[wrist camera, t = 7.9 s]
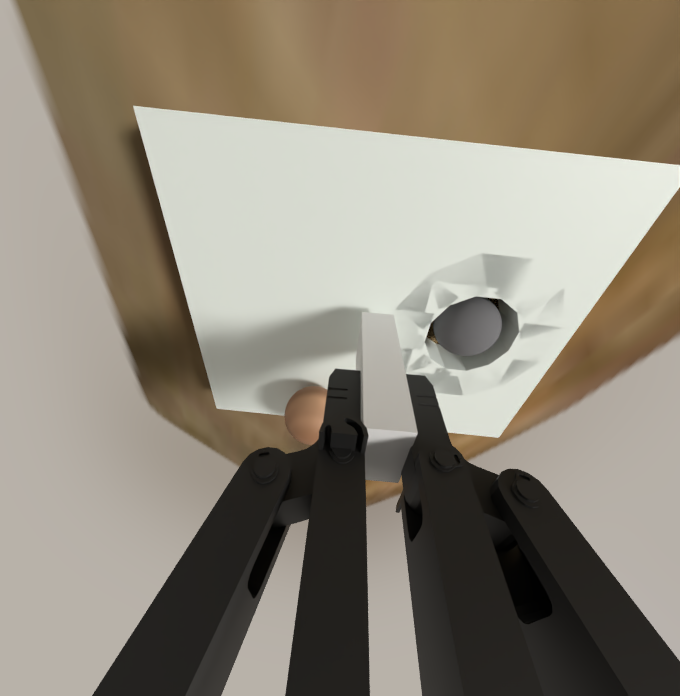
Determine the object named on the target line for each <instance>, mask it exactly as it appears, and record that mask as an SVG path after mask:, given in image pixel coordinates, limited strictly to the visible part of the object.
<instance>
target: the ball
mask: <svg viewBox="0 0 680 696" xmlns="http://www.w3.org/2000/svg"><path fill="white" fill-rule="evenodd" d="M501 328H502V320H501V315H500V313H499V311H498V309H497V307H496V306H495V305H494V304H493V303H492V302H491V301H490V300H488V299H487V298H485V297H477V296H476V297H473V298H470V299H467V300H464V301H461V302H458V303H455V304H453V305H450V306H449V307H448V308H446V309H445V310H444V311H443V312H442V313H441V314H440V315H439V316H438V317H437V318H436V319H435V320H434V321H433V330H434V335H435V337H436V339H437V341H438V343H439V344H440V345H441V346H442V347H443V348H444V349H445V350H447V351H449V352H450V353H453V354H456V355H460V356H473V355H477V354H480V353H482V352H484V351H486V350H488V349H489V348H490V347H491V346H492V345H493V344H494V343H495V342H496V340H497V339H498V337H499V335H500V332H501Z"/></svg>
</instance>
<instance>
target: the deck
mask: <svg viewBox="0 0 680 696" xmlns="http://www.w3.org/2000/svg"><path fill="white" fill-rule="evenodd" d="M133 107H134V111H135V114H136V118H137V122H138V125H139V129H140V132H141V136H142V140H143V143H144V147H145V151H146V154H147V158H148V161H149V165H150V169H151V172H152V176H153V180H154V183H155V187H156V190H157V194H158V198H159V201H160V205H161V209H162V212H163V216H164V219H165V223H166V227H167V230H168V234H169V238H170V241H171V245H172V248H173V252H174V256H175V259H176V263H177V267H178V270H179V274H180V277H181V281H182V285H183V288H184V292H185V296H186V299H187V303H188V306H189V310H190V314H191V317H192V321H193V324H194V328H195V332H196V335H197V339H198V343H199V346H200V350H201V353H202V357H203V361H204V364H205V368H206V372H207V375H208V379H209V382H210V386H211V390H212V393H213V397H214V401H215V404H216V408H217V409H226V410H236V411H246V412H255V413H265V414H275V415H284V416H285V409H286V405H287V403H288V401H289V399H290V398H291V397H292V396H293V395H294V394H295V393H296V392H297V391H298V390H300V389H302V388H305V387H309V386H319V387H323V388H325V389H328V381H329V376H330V375H331V374H332V372H333V371H334V370H335V368H336V369H347V370H356V354H357V346H358V338H359V331H360V323H361V316H362V312H368V313H379V314H391V315H394V318H395V323H396V328H397V333H398V338H399V343H400V348H401V353H402V358H403V363H404V368H405V372H406V374H412V375H423V376H426V378H427V379H428V380H429V381H430V382H431V384H432V385H433V387H434V390H435V394H436V398H437V400H438V403H439V407H440V410H441V413H442V416H443V420H444V423H445V426H446V429H447V432H449V433H459V434H469V435H478V436H488V437H498V438H499V436H500V435H501V434H502V432H503V431H504V430H505V428H506V427H507V425H508V424H509V423H510V421H511V420H512V418H513V417H514V416H515V414H516V413H517V412H518V410H519V409H520V407H521V406H522V405H523V403H524V402H525V400H526V399H527V398H528V396H529V395H530V394H531V392H532V391H533V389H534V388H535V387H536V385H537V384H538V382H539V381H540V380H541V378H542V377H543V375H544V374H545V373H546V371H547V370H548V369H549V367H550V366H551V364H552V363H553V362H554V360H555V359H556V357H557V356H558V355H559V353H560V352H561V351H562V349H563V348H564V346H565V345H566V344H567V342H568V341H569V339H570V338H571V337H572V335H573V334H574V333H575V331H576V330H577V328H578V327H579V326H580V324H581V323H582V321H583V320H584V319H585V317H586V316H587V315H588V313H589V312H590V310H591V309H592V308H593V306H594V305H595V303H596V302H597V301H598V299H599V298H600V297H601V295H602V294H603V292H604V291H605V290H606V288H607V287H608V285H609V284H610V283H611V281H612V280H613V279H614V277H615V276H616V274H617V273H618V272H619V270H620V269H621V267H622V266H623V265H624V263H625V262H626V260H627V259H628V258H629V256H630V255H631V254H632V252H633V251H634V249H635V248H636V247H637V245H638V244H639V242H640V241H641V240H642V238H643V237H644V236H645V234H646V233H647V231H648V230H649V229H650V227H651V226H652V224H653V223H654V222H655V220H656V219H657V218H658V216H659V215H660V213H661V212H662V211H663V209H664V208H665V206H666V205H667V204H668V202H669V201H670V200H671V198H672V197H673V195H674V194H675V193H676V191H677V190H678V188H679V187H680V165H672V164H663V163H654V162H644V161H635V160H626V159H617V158H608V157H598V156H589V155H580V154H571V153H562V152H552V151H543V150H534V149H525V148H516V147H506V146H497V145H488V144H479V143H470V142H461V141H451V140H442V139H433V138H424V137H415V136H405V135H396V134H387V133H378V132H369V131H359V130H350V129H341V128H332V127H323V126H313V125H304V124H295V123H286V122H277V121H267V120H258V119H249V118H240V117H231V116H221V115H212V114H203V113H194V112H185V111H175V110H166V109H157V108H148V107H139V106H133ZM476 296H477V297H487V298H496V299H498V303H499V313H500V315H501V320H502V328H501V332H500V335H499V337H498V339H497V340H496V342H495V343H494V344H493V345H492V346H491V347H490V348H489V349H488V350H486V351H484V352H482V353H480V354H477V355H473V356H460V355H456V354H453V353H450V352H449V351H447V350H445V349H444V348H443V347H442V346H441V345H440V344H436V343H434V342H433V341H431V340H430V339H428V338H427V337H426V336H427V333H428V330H429V327H430V324H431V322H432V321H433V320H435V319H436V318H437V317H438V316H439V315H440V314H441V313H442V312H443V311H444V310H445V309H446V308H448V307H449V306H450V305H453V304H455V303H458V302H461V301H464V300H467V299H470V298H473V297H476Z"/></svg>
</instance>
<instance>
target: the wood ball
mask: <svg viewBox="0 0 680 696" xmlns="http://www.w3.org/2000/svg"><path fill="white" fill-rule="evenodd" d="M326 396H327V389H325V388H323V387H319V386H309V387H305V388H302V389H300V390H298V391H297V392H296V393H295V394H294V395H293V396H292V397H291V398H290V399H289V401H288V403H287V405H286V409H285V423H286V427H287V429H288V431H289V432H290V434H291V435H292V436H293V437H294V438H295V439H296V440H298V441H300V442H302V443H305V444H310V445H313V444H314V443H315V442H316V441H317V440H318V439H319V430H320V427H321V425H322V423H323V419H324V411H325V404H326Z"/></svg>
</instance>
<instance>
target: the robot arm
mask: <svg viewBox="0 0 680 696" xmlns="http://www.w3.org/2000/svg"><path fill="white" fill-rule="evenodd" d="M401 475H402V482H403V491H402V493H401V496H400V498H399V500H398V503H397V506H396V512H398V513H399V512H400V510H402V519H403V529H404V537H405V546H406V555H407V563H408V573H409V582H410V591H411V600H412V609H413V617H414V625H415V635H416V644H417V653H418V662H419V670H420V680H421V688H422V696H680V661H679V660H678V659H677V657H676V656H675V655H674V653H673V652H672V651H671V649H670V648H669V647H668V646H667V644H666V643H665V642H664V641H663V639H662V638H661V636H660V635H659V634H658V633H657V631H656V630H655V629H654V627H653V626H652V625H651V624H650V622H649V621H648V620H647V619H646V617H645V616H644V615H643V613H642V612H641V611H640V609H639V608H638V607H637V605H636V604H635V603H634V601H633V600H632V599H631V598H630V596H629V595H628V594H627V592H626V591H625V590H624V589H623V587H622V586H621V585H620V583H619V582H618V581H617V579H616V578H615V577H614V576H613V574H612V573H611V572H610V570H609V569H608V568H607V567H606V566H605V564H604V563H603V561H602V560H601V559H600V557H599V556H598V555H597V553H595V551H594V549H593V548H592V547H591V546H590V544H589V543H588V542H587V541H586V539H585V538H584V537H583V535H582V534H581V533H580V531H579V530H578V529H577V527H576V526H575V525H574V524H573V522H572V521H571V520H570V518H569V517H568V516H567V514H566V513H565V512H564V511H563V509H562V508H561V507H560V506H559V504H558V503H557V501H556V500H555V499H554V498H553V497H552V495H551V494H550V492H549V491H548V490H547V489H546V488H545V487H544V486H543V484H541V482H540V481H539V480H537V479H536V478H534V477H533V476H532V475H530V474H528V473H526V472H524V471H521V470H518V469H507V470H505V471H502V472H501V474H500V475H497V474H495V473H492V472H490V471H487V470H484V469H482V468H479V467H477V466H475V465H473V464H471V463H469V462H467V461H466V460H465V459H464V458H463V456H462V454H461V453H460V452H459V451H458V450H457V449H456V448H455V447H453V446H452V444H451V442H450V439H449V436H448V433H447V429H446V426H445V423H444V420H443V416H442V413H441V410H440V407H439V403H438V400H437V398H436V394H435V390H434V387H433V385H432V384H431V382H430V381H429V380H428V379H427V378H426V376H423V375H412V374H406V372H405V368H404V363H403V358H402V353H401V348H400V343H399V338H398V333H397V328H396V323H395V318H394V315H391V314H379V313H368V312H362V316H361V323H360V331H359V338H358V346H357V354H356V370H347V369H336V368H335V370H334V371H333V372H332V374H331V375H330V376H329V381H328V389H327V396H326V404H325V411H324V419H323V423H322V425H321V427H320V430H319V439H318V440H317V441H316V442H315V443H314V444H313V445H312V446H310V447H309V448H307V449H304V450H301V451H298V452H293V453H289V454H285V453H284V452H282V451H281V450H279V449H277V448H270V447H267V448H262V449H258V450H256V451H255V452H253V453H251V454H250V455H249V456H248V457H247V458H246V459H245V460H244V461H243V462H242V464H241V466H240V467H239V469H238V470H237V472H236V473H235V475H234V476H233V478H232V480H231V481H230V483H229V484H228V486H227V487H226V489H225V490H224V492H223V494H222V495H221V497H220V498H219V500H218V501H217V503H216V504H215V506H214V507H213V509H212V511H211V512H210V514H209V515H208V517H207V519H206V520H205V521H204V523H203V525H202V526H201V528H200V529H199V531H198V532H197V534H196V535H195V537H194V539H193V540H192V542H191V543H190V545H189V546H188V548H187V549H186V551H185V552H184V554H183V556H182V557H181V559H180V560H179V562H178V563H177V565H176V566H175V568H174V570H173V571H172V573H171V574H170V576H169V577H168V579H167V580H166V582H165V583H164V585H163V587H162V588H161V590H160V591H159V593H158V594H157V596H156V597H155V599H154V601H153V602H152V604H151V605H150V607H149V608H148V610H147V611H146V613H145V615H144V616H143V618H142V619H141V621H140V622H139V624H138V625H137V627H136V628H135V630H134V632H133V633H132V635H131V636H130V638H129V639H128V641H127V643H126V644H125V646H124V647H123V649H122V650H121V652H120V653H119V655H118V656H117V658H116V659H115V661H114V663H113V664H112V666H111V667H110V669H109V670H108V672H107V673H106V675H105V677H104V678H103V680H102V681H101V683H100V684H99V686H98V688H97V689H96V691H95V692H94V694H93V695H92V696H221V694H222V692H223V690H224V687H225V685H226V682H227V680H228V677H229V675H230V672H231V670H232V667H233V665H234V663H235V660H236V658H237V655H238V652H239V650H240V648H241V645H242V643H243V640H244V638H245V636H246V633H247V631H248V628H249V626H250V623H251V621H252V618H253V616H254V613H255V611H256V608H257V606H258V604H259V601H260V599H261V596H262V594H263V591H264V589H265V586H266V584H267V581H268V579H269V577H270V574H271V571H272V569H273V567H274V564H275V562H276V559H277V557H278V554H279V552H280V549H281V547H282V544H283V542H284V540H285V537H286V535H287V532H288V530H289V527H290V525H291V524H294V523H297V522H300V521H304V520H307V519H309V523H308V530H307V538H306V545H305V552H304V560H303V567H302V575H301V582H300V590H299V598H298V605H297V613H296V620H295V628H294V635H293V642H292V650H291V657H290V665H289V672H288V680H287V687H286V695H285V696H370V689H369V688H370V685H369V638H368V637H369V636H368V635H369V634H368V584H367V536H366V485H365V480H374V481H385V482H396V483H398V482H399V480H400V477H401Z"/></svg>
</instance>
